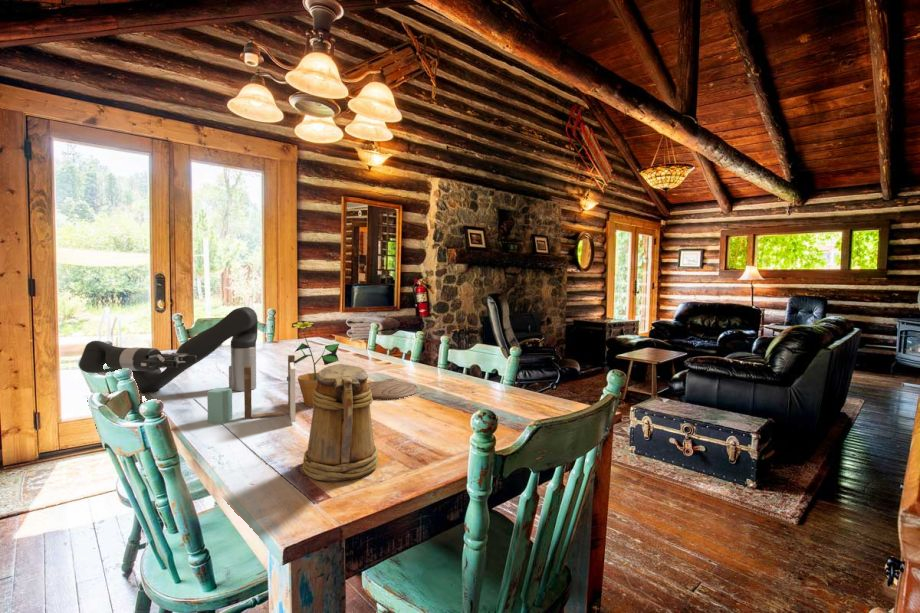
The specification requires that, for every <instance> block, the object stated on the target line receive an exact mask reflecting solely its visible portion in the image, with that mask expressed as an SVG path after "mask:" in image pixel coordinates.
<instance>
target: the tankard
mask: <svg viewBox="0 0 920 613" xmlns="http://www.w3.org/2000/svg"><path fill="white" fill-rule="evenodd" d="M316 373H317V375H316V378H317V385H316V387H315V388H314V392H313V400H312V401H313V403H314V406H312V408H313V409H312V416H311V425H310V430H309V438H308V444H307V449H306V450H305V452H304V454H303V460H302V471H303V472H304V474H306V476H308V477H309V478H312V479H314V480H318V481H323V482H335V483H336V482H343V481H352V480H353V481H354V480H356V479H359V478H362V477H364V476H367V475H369V474H370V473H372V472H373V471H375V470H376V468H377V467H378V465H379V464H380V463H379V455H378V454H379V452H378V449H377V446H376V445H375V441H374V440H375V439H374V433H373V431H374V430H373V423H372V422H373V421H372V414H371V405H372V403H373V401H374V399H373V398H372V392H371V388H370V387H369V386H368V383H369V382H368V378H369V375H368V373H367V371H366V370H365V369H364V368H362V367H359V366H355V365H349V364H343V363H337V364H334V365H333V364H332V365H329V366H326V367H324V368H322V369H320V370H319V371H318V372H316Z"/></svg>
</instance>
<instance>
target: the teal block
mask: <svg viewBox="0 0 920 613" xmlns="http://www.w3.org/2000/svg"><path fill="white" fill-rule="evenodd" d="M206 394H207V396H206V398H207V423H208V424H217V425H218V424H219V425H221V424H223V425H224V424H225V423H227V422H229V421H231V420H233V390H232V389H229V387H228V388H225V387H216V388H214V389H210V390H208V391H207V392H206Z"/></svg>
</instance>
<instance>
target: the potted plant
mask: <svg viewBox="0 0 920 613" xmlns="http://www.w3.org/2000/svg"><path fill="white" fill-rule="evenodd" d="M314 323H315V322H314V321H307V320H301V321H296V322H292V323H291V328H294V329H298V330H299V329H301V330H303V335H304V340H305V342H306V344H305V343H303V342H302V343H301V344H299V346H298V347H296V350H295V351H294V353H296V352H299V351H301V352H302V356H301V357H299V358H297V359H295V364H297V363H300V362H301V361H303V360H305V359H306V358H308V357H311V358H312V363H313V372H311V373H310V372H309V373H305V374H300V375H298V376H297V382H298V384H299V389H300V391H301V392H300V393H301V396H302V399H303V402H304V405H305V406H308V407H314V403H313V401H312V400H313V392H314V388H315V387H316V385H317V378H316V375H317V373H318V372H317V371H316V364H318V362H319V360H321V359H322V361H323V365H324V366H327V365H330V364H333V363H336V362H339V357H338V355H337V352H338V349H339V345H340V343H333V344H327V345H325V346H324V350H323V352H322V354H321V356H320V357H319V358H318V359H317V360H316V361H315V360H314V356H313V352H312V348H311V346H310V345H309V342H308V340H307V338H306V333H305V330H304V329H308V328H312V327H314V326H315V324H314ZM305 349H308V350H309V352H310V354H306V353H305V352H304V350H305ZM325 350H327V351H328V352H329V353H328V354H325V355H324V353H325V352H326V351H325Z"/></svg>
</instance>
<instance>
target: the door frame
mask: <svg viewBox="0 0 920 613" xmlns="http://www.w3.org/2000/svg"><path fill="white" fill-rule="evenodd" d="M295 357H296V355H294V354H289V355H287V375H288V376H287V377H289V376H290V363H291V362H294V366H295V367H296V363H295V360H296V358H295ZM243 393H244V394H243V395H244V398H243V399H244V420H249V419H252V420H253V419H254V420H256V419H264V418H275V417H283V416H284V411H276V412H275V411H274V412H263V413H253V414H252V410H253V409H252V408H253V407H252V390H251V366H244V391H243ZM287 393H288V394H287V406H288V407H287V408H288V409H287V411H288V412H287V413H288V416H290V381H287Z"/></svg>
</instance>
